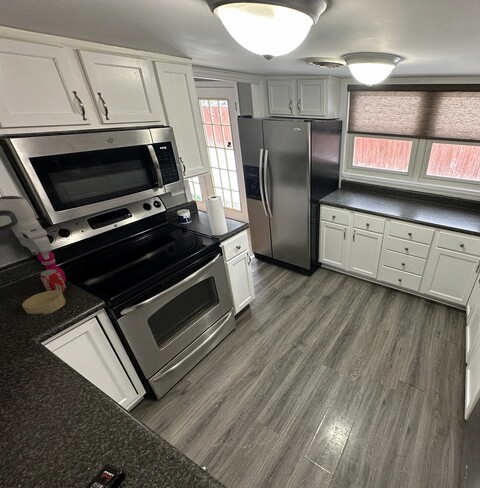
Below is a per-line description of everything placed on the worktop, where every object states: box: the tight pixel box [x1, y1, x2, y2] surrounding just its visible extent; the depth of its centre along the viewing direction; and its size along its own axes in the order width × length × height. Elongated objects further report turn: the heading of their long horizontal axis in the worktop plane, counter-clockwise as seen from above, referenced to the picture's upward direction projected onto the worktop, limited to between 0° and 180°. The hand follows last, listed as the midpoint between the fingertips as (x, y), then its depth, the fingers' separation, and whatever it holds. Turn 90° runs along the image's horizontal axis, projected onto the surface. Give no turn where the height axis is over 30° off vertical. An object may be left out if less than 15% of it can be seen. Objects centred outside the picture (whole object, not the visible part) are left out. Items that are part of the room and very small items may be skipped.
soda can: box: [40, 269, 67, 293], centre depth 133 cm, size 7×7×12 cm
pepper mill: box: [37, 251, 67, 282], centre depth 139 cm, size 7×7×20 cm
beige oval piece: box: [21, 290, 67, 316], centre depth 123 cm, size 13×13×6 cm
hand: (41, 256), depth 127 cm, fingers open, 8 cm apart
